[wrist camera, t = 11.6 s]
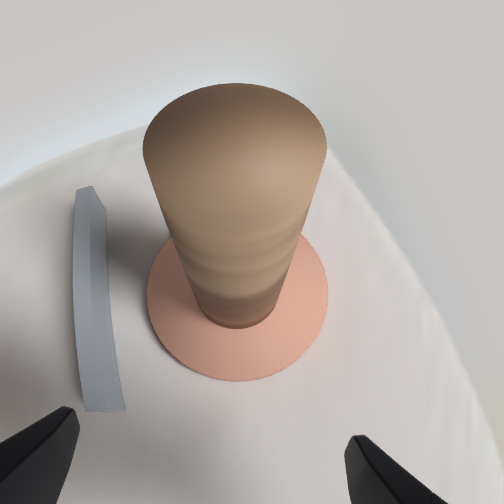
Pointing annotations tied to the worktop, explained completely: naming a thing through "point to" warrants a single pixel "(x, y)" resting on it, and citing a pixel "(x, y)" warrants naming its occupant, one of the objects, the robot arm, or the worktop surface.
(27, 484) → the robot arm
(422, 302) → the worktop surface
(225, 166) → the walnut cylinder
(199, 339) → the resting pad
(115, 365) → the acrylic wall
